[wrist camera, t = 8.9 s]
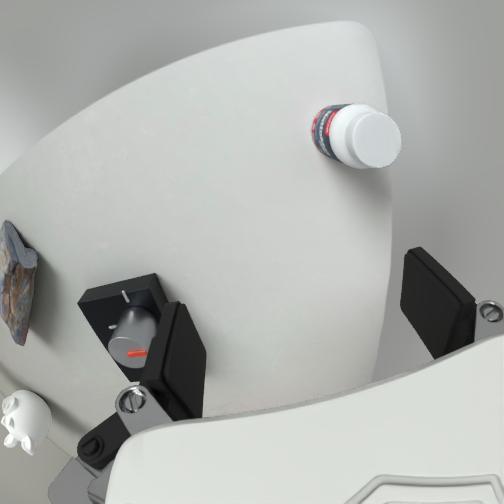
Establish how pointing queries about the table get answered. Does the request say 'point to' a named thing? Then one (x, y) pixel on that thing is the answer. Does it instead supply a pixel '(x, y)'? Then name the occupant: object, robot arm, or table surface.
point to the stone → (16, 282)
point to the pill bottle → (356, 136)
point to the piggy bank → (25, 420)
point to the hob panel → (121, 308)
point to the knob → (133, 337)
